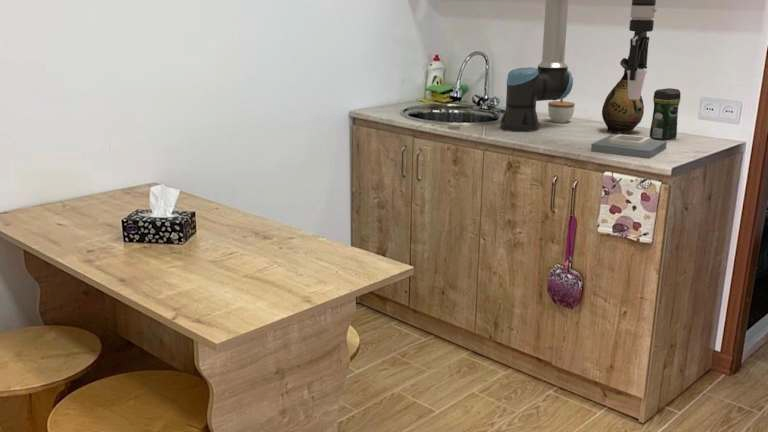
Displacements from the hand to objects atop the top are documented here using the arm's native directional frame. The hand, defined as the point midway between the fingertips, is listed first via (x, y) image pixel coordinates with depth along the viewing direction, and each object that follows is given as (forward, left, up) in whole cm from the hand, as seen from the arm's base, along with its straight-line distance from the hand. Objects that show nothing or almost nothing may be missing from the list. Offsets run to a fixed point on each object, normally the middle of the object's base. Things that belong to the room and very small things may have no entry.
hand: (635, 88), depth 262 cm
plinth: (0, 0, -21) cm, 21 cm away
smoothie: (0, 0, -4) cm, 4 cm away
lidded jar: (-41, +40, -21) cm, 61 cm away
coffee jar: (+4, +28, -21) cm, 35 cm away
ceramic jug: (-13, +33, -21) cm, 41 cm away
